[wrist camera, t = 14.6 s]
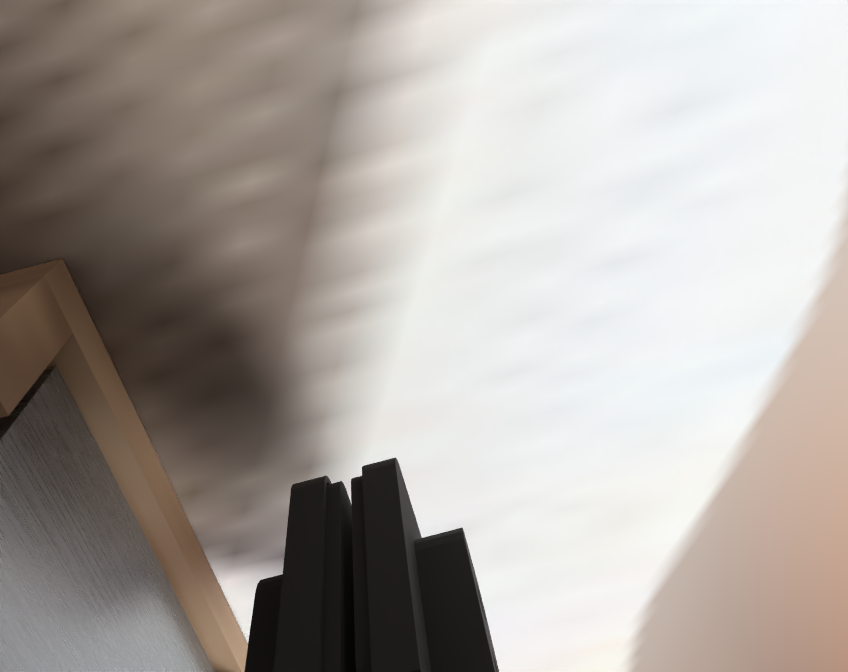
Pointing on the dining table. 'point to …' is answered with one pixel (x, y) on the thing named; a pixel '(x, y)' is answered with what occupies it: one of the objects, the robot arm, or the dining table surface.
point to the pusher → (78, 554)
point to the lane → (111, 437)
